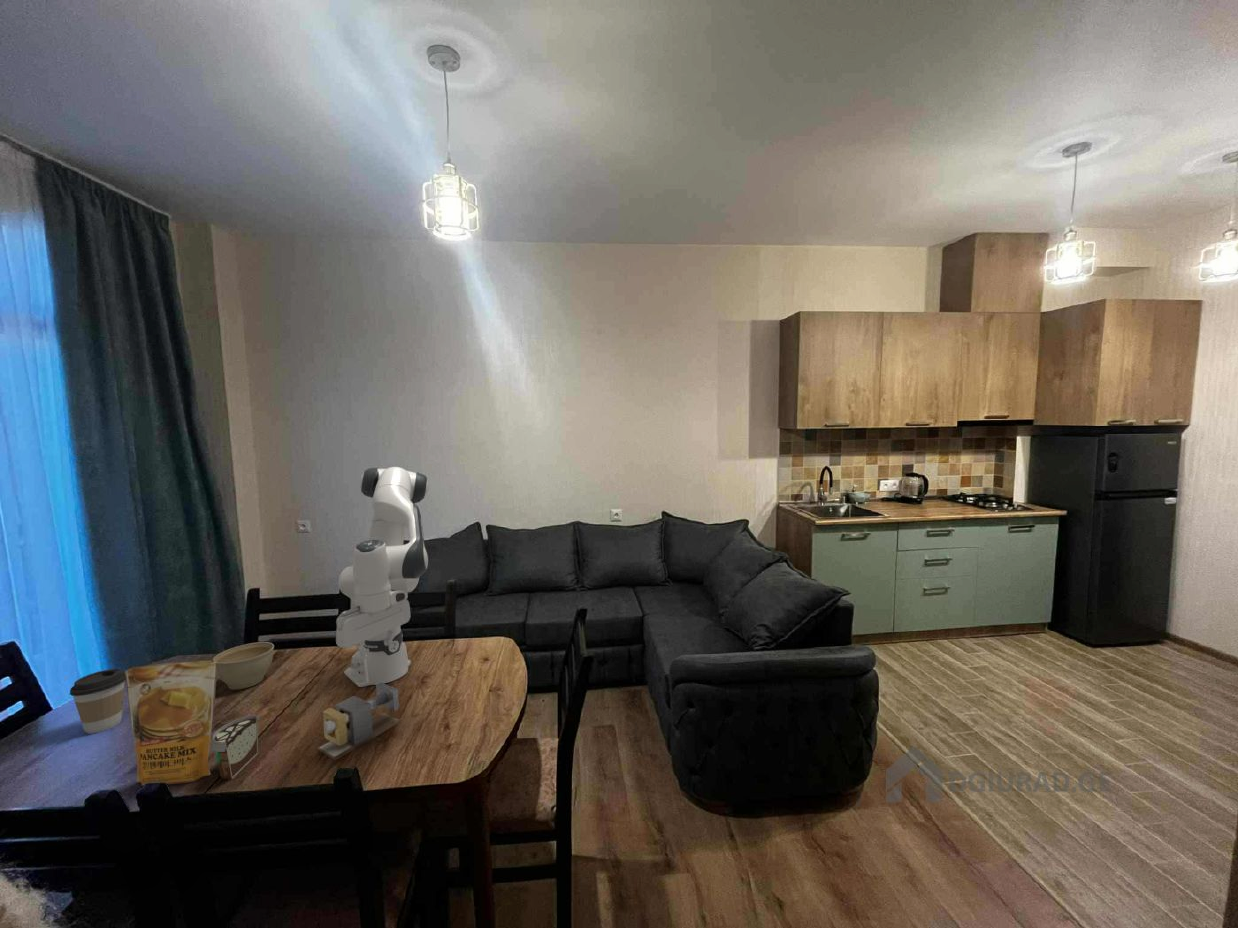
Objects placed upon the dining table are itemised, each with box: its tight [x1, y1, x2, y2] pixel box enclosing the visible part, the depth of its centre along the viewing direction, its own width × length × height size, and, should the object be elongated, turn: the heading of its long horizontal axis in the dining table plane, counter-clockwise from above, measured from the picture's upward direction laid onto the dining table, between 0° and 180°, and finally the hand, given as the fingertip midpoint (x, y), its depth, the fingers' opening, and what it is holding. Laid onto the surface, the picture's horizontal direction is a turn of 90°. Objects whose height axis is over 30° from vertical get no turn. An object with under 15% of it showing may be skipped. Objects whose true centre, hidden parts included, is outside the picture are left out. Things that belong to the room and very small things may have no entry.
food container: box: [210, 714, 260, 780], centre depth 119 cm, size 12×6×10 cm, turn 5°
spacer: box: [322, 707, 348, 746], centre depth 124 cm, size 7×2×7 cm, turn 59°
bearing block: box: [335, 695, 374, 749], centre depth 129 cm, size 8×5×10 cm, turn 59°
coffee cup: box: [69, 668, 126, 735], centre depth 138 cm, size 11×11×15 cm
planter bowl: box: [212, 641, 275, 690], centre depth 161 cm, size 16×16×11 cm
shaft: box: [323, 683, 400, 734], centre depth 130 cm, size 8×18×6 cm, turn 149°
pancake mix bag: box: [123, 659, 218, 787], centre depth 116 cm, size 7×19×28 cm, turn 96°
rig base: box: [318, 711, 401, 761], centre depth 130 cm, size 8×18×1 cm, turn 149°
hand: (376, 650), depth 130 cm, fingers open, 6 cm apart
